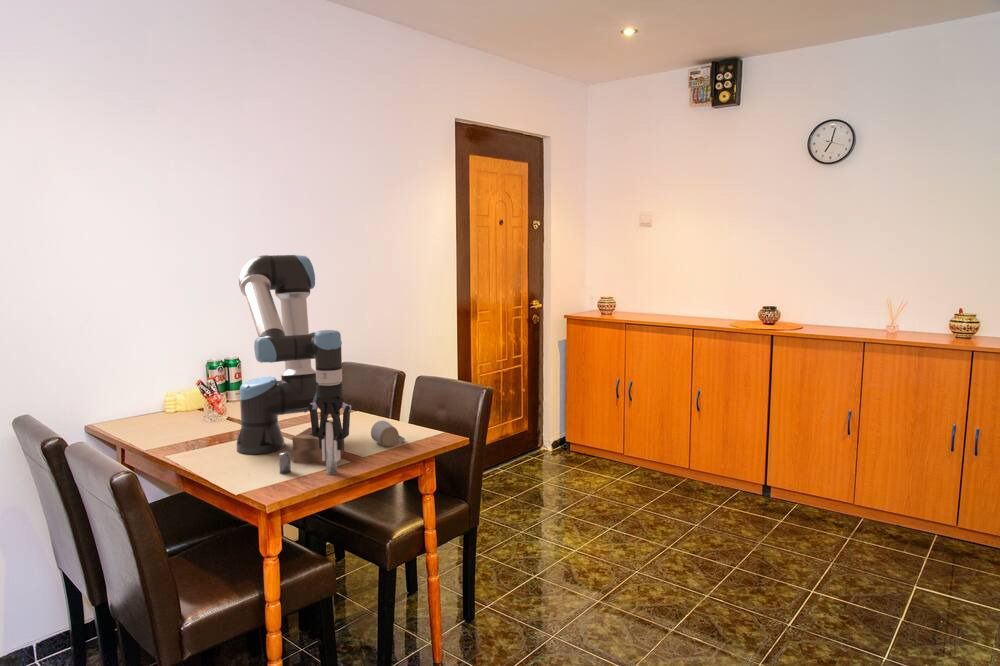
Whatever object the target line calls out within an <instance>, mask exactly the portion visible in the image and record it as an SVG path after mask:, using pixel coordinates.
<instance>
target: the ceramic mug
mask: <svg viewBox="0 0 1000 666" xmlns="http://www.w3.org/2000/svg"><path fill="white" fill-rule="evenodd" d="M370 436H371V439H372V440H373V441H375V442H376V443H378V444H379V445H381V446H382V447H386V448H388V447H389V448H390V447H393V446H394V445H396V444H397V443H401V444H402V443H404V442H405V437H403V436H401V435H400V434H399V431H398V429H397V428H396V427H395V426H393V425H392V424H391V423H390V422H388V421H387V420H379V421H377V422H375V423H374V424H373V425H372V427H371V430H370Z"/></svg>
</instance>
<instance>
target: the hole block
mask: <svg viewBox="0 0 1000 666" xmlns="http://www.w3.org/2000/svg"><path fill="white" fill-rule="evenodd" d="M345 443H346V442H345V438H343V449H342V450H340V456H341V457H342V456H343V455H344V454H345V453H346V450H345V448H346V447H345V445H346V444H345ZM292 456H293V457H292V458H293V460H292V461H293V462H292V463H295V464H296V463H299V464H312V465H313V464H314V465H326V460H325V461H322V449H320V448H319V438H318V437H314V436H313V435H312V426H311V427H308V428H306V429H305V430H303V431H302V432H300V433H298V434H295V436H293V437H292Z"/></svg>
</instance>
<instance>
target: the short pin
mask: <svg viewBox="0 0 1000 666" xmlns="http://www.w3.org/2000/svg"><path fill="white" fill-rule="evenodd" d="M278 460H279V461H278V463H279V464H278V465H279V474H281V475H288V474H290V473H292V467H291V465H292V464H291V452H290V451H287V450H286V451H285V450H284V451H281V452H279V453H278Z"/></svg>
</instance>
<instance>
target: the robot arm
mask: <svg viewBox="0 0 1000 666" xmlns="http://www.w3.org/2000/svg"><path fill="white" fill-rule="evenodd" d="M314 269H315V268H314V266H313V263H312V261H311V260H310V258H309V257H308V256H306V255H301V254H299V255H297V254H290V255H289V254H284V255H279V254H278V255H273V254H272V255H267V254H266V255H260V256H259V255H258V256H255V257H254V258H252V259H250V260H249V261H248V262H247V263H246V264H245V265H244V266H243V267H242V269H241V271H240V274H239V279H238V285H239V289H240V292H241V293H242V295H243V296H244V297H246V300H247V304H248V307H249V310H250V313H251V316H252V320H253V323H254V326H255V330H256V332H257V336H258V337H257V338H255V340H254V345H253V346H254V348H253V349H254V356H255V359H256V361H257V362H259V363H261V364H262V363H271V364H272V363H279V362H284V366H285V370H284V371H283V372H282V373H281V375H280V378H281V380H278V379H277V378H276V377H274V376H261V377H255V378H252V379H248V380H247V381H245V382H243V383H242V384H241V385H240V387H239V397H238V399H239V405H240V406H239V407H240V425H241V426H240V429H239V432H238V433H239V434H238V438H237V440H236V451H237V452H239V453H240V454H245V455H260V454H261V455H262V454H268V453H274V452H277V451H279V450H281V449H283V448H284V447H285V438H284V436H283V433H282V431H281V428H280V426H279V419H278V418H279V416H285V415H292V414H299V413H308V412H309V416H310V423H311V424H310V425H311V428H312V435H313V436H314V437H318V438H319V448H320V449H322V461H325V460H326V444H325V421H326V420H329V419H328V417H329V415H330V416H331V419H332V420H333V423H334V429H335V434H336V439H335V440H334V462H337V463H338V462H339V460H341V457H342V455H341V456H340V450H342V449H343V438H344V439H346V438H347V437H349V436H350V423H351V420H350V419H351V412H352V409H353V404H348V403H345V400H344V398H343V393H344V392H343V383H342V382H343V369H342V368H343V366H342V365H343V362H342V344H343V341H342V336H341V334H342V333H341V332H340V331H338V330H334V329H324V330H318V331H316V332H315V331H314V332H309V319H308V317H309V316H308V303H307V298H308V297H309V296H310V295H311V290H312V289H314V288H315V287H316V273H315V270H314ZM271 290H272V291H274V295H275V297H276V298H278V299H279V302H280V311H281V319H280V316H279V313H278V310H277V306H276V303H275V301H274V298H273V295H272V292H271ZM312 360H315V362H314V363H315V370H314V369H313V368H312ZM341 409H342V412H343V413H342V420H341V411H340V410H341ZM318 410H320V412H319V413H320V414H319V413H318ZM319 418H320V419H319ZM319 420H320V421H319ZM341 421H342V422H341Z"/></svg>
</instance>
